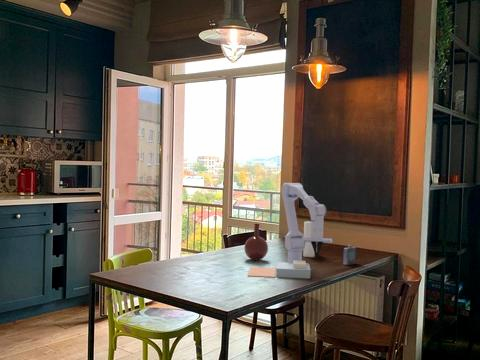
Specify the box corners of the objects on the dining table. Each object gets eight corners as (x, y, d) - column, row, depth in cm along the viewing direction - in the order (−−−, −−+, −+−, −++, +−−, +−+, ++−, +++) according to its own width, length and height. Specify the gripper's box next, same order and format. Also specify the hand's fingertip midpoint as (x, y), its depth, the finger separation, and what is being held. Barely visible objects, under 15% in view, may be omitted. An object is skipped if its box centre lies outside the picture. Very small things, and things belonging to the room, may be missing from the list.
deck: (276, 269, 242) (277, 262, 242) (308, 271, 241) (309, 263, 241) (276, 276, 227) (276, 268, 227) (310, 278, 226) (310, 270, 226)
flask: (345, 265, 258) (346, 245, 258) (341, 264, 260) (342, 244, 260) (356, 263, 264) (357, 244, 264) (352, 262, 266) (352, 243, 266)
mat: (250, 268, 245) (250, 267, 245) (275, 269, 244) (275, 268, 244) (247, 276, 227) (247, 275, 227) (275, 277, 226) (275, 276, 226)
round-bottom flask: (252, 256, 275) (253, 222, 274) (272, 259, 268) (273, 224, 267) (239, 260, 264) (240, 224, 263) (259, 263, 257) (260, 226, 256)
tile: (293, 264, 238) (293, 260, 238) (305, 264, 237) (305, 260, 237) (293, 267, 230) (293, 263, 230) (306, 268, 229) (306, 264, 229)
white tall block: (311, 257, 277) (312, 223, 276) (300, 256, 281) (301, 222, 280) (319, 254, 287) (321, 221, 286) (308, 253, 291) (310, 220, 290)
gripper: (302, 229, 229) (301, 258, 229) (333, 231, 228) (332, 259, 228) (301, 228, 236) (301, 255, 237) (331, 229, 235) (330, 256, 235)
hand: (316, 257), depth 233 cm, fingers closed
